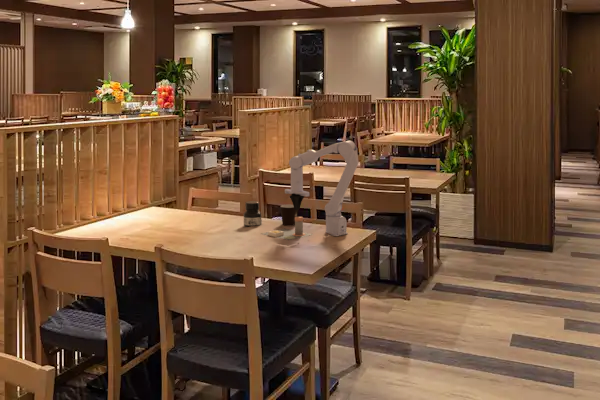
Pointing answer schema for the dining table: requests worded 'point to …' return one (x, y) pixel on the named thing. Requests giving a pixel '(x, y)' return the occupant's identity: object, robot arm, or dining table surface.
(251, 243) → the dining table surface
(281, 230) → the board
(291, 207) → the coffee mug
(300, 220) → the marker
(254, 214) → the ink bottle
